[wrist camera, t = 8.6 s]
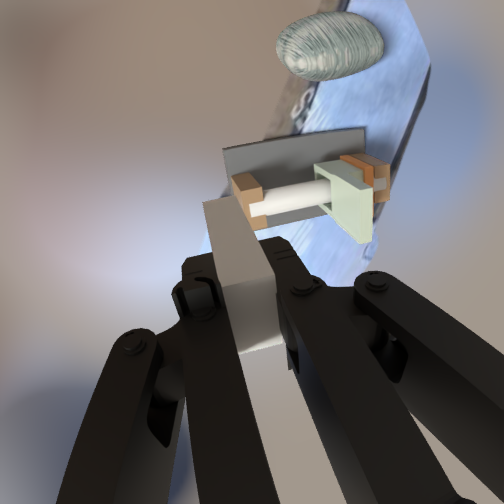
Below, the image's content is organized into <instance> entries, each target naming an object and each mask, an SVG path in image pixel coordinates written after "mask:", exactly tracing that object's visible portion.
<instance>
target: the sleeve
mask: <svg viewBox="0 0 504 504" xmlns="http://www.w3.org/2000/svg"><path fill="white" fill-rule="evenodd" d="M314 174H315V180H319V179H325V178H328V179H329V180H330V182H331V201H332V202H329V203H324V204H320V205H318V206H319V207H321V208H322V209H323V210H324V211H325V212H326V213H327V214H329V215H330V216H331V217H332V218H333V219H334V220H335V222H336V223H337V224H338V225H339V226H340V227H341V228H342V229H344V230H345V231H346V232H347V233H348V234H349V235H350V236H351V237H352V238H353V239H354V240H355V241H356V242H358V243H359V244H364V243H367V242H371V241H372V217H373V188H372V187H371V186H369V185H367V184H366V183H364V182H363V170H362V169H360V168H358V167H356V166H354V165H352V164H350V163H348V162H346V161H343V160H335V161H328V162H322V163H316V164H314Z"/></svg>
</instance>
